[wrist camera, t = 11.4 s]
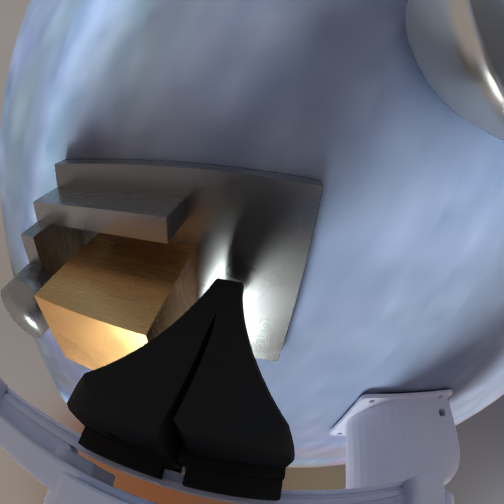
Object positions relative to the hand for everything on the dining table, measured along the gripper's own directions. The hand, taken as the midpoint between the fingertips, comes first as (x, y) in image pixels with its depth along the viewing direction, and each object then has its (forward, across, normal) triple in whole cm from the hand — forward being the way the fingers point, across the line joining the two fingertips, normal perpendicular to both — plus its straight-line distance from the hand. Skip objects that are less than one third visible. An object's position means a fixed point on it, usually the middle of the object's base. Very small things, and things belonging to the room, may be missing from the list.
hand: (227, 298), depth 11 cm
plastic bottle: (+2, -8, -12) cm, 15 cm away
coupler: (+2, +4, 0) cm, 4 cm away
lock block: (+1, +4, 0) cm, 4 cm away
